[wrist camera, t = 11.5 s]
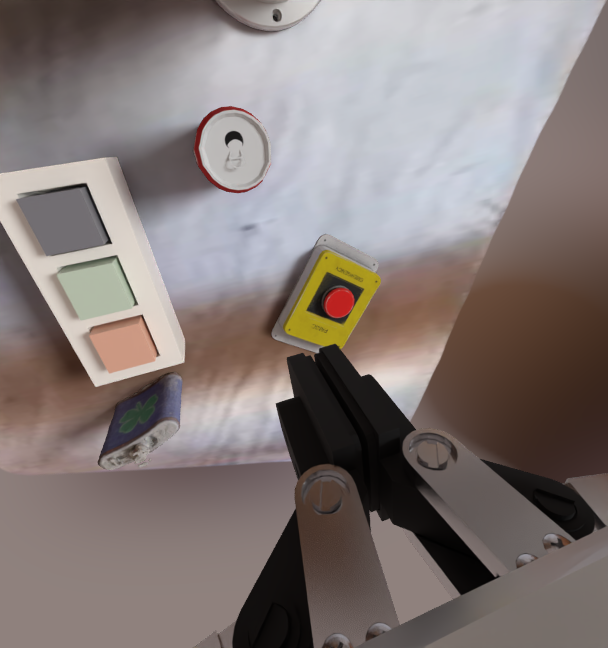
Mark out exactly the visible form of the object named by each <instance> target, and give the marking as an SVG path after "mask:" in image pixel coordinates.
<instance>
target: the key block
mask: <svg viewBox="0 0 608 648" xmlns="http://www.w3.org/2000/svg"><path fill="white" fill-rule="evenodd" d="M87 185H88V187H89V190H90V192H91V195H92V197H93V199H94V202H95V204H96V206H97V209H98V211H99V213H100V216H101V218H102V220H103V223H104V225H105V227H106V230H107V232H108V234H109V237H110V239H109V240H108V241H107V242H106V243H105V244H104V245H100V246H95V247H90V248H85V249H80V250H75V251H70V252H65V253H60V254H55V255H50V256H46V255H45V253H44V251H43V249H42V247H41V245H40V243H39V242H38V240H37V238H36V236H35V234H34V232H33V230H32V228H31V227H30V225H29V223H28V221H27V219H26V217H25V215H24V214H23V212H22V210H21V208H20V206H19V204H18V202H17V200H16V199H19V198H23V197H27V196H30V195H34V194H39V193H45V192H51V191H57V190H63V189H69V188H75V187H81V186H87ZM0 222H1V223H2V225H3V227H4V229H5V230H6V232H7V234H8V236H9V237H10V239H11V241H12V242H13V244H14V246H15V248H16V249H17V251H18V253H19V255H20V256H21V258H22V260H23V262H24V263H25V265H26V267H27V269H28V270H29V272H30V274H31V276H32V277H33V279H34V281H35V282H36V284H37V286H38V288H39V289H40V291H41V293H42V295H43V296H44V298H45V300H46V302H47V303H48V305H49V307H50V309H51V310H52V312H53V314H54V315H55V317H56V319H57V321H58V322H59V324H60V326H61V328H62V329H63V331H64V333H65V335H66V336H67V338H68V340H69V342H70V343H71V345H72V347H73V349H74V350H75V352H76V354H77V355H78V357H79V359H80V361H81V362H82V364H83V366H84V368H85V369H86V371H87V373H88V375H89V376H90V378H91V380H92V382H93V383H94V385H95V387H97V386H101V385H104V384H108V383H111V382H115V381H119V380H122V379H126V378H130V377H133V376H137V375H140V374H144V373H148V372H151V371H155V370H159V369H162V368H166V367H169V366H173V365H177V364H180V363H184V358H185V339H184V336H183V333H182V331H181V328H180V325H179V323H178V320H177V317H176V314H175V312H174V309H173V306H172V304H171V301H170V298H169V296H168V293H167V290H166V288H165V285H164V282H163V280H162V277H161V274H160V271H159V269H158V266H157V263H156V261H155V258H154V255H153V253H152V250H151V247H150V245H149V242H148V239H147V237H146V234H145V231H144V228H143V226H142V223H141V220H140V218H139V215H138V212H137V210H136V207H135V204H134V202H133V199H132V196H131V193H130V191H129V188H128V185H127V183H126V180H125V177H124V175H123V172H122V169H121V167H120V164H119V161H118V159H117V157H106V158H99V159H92V160H86V161H79V162H73V163H66V164H60V165H53V166H47V167H40V168H34V169H27V170H21V171H14V172H8V173H1V174H0ZM114 255H118V258H119V260H120V262H121V265H122V267H123V270H124V272H125V274H126V277H127V279H128V281H129V284H130V286H131V288H132V291H133V293H134V295H135V298H136V300H135V302H134V305H133V308H132V309H128V310H124V311H119V312H115V313H111V314H107V315H103V316H98V317H94V318H90V319H86V320H82V321H81V320H80V318H79V316H78V314H77V313H76V311H75V309H74V307H73V305H72V303H71V301H70V300H69V298H68V296H67V294H66V292H65V290H64V288H63V286H62V285H61V283H60V281H59V279H58V277H57V274H58V273H59V272H60V271H61V270H62V269H63V268H64V267H65V266H67V265H71V264H76V263H81V262H86V261H90V260H95V259H100V258H105V257H110V256H114ZM142 314H143V316H144V319H145V321H146V323H147V326H148V328H149V330H150V333H151V335H152V337H153V340H154V342H155V344H156V347H157V355H156V360H155V361H154V362H150V363H147V364H143V365H139V366H136V367H132V368H128V369H125V370H121V371H117V372H113V373H110V374H109V372H108V370H107V369H106V367H105V365H104V363H103V361H102V359H101V357H100V356H99V354H98V352H97V350H96V348H95V346H94V344H93V342H92V341H91V339H90V337H89V335H90V333H91V331H92V329H93V328H94V326H97V325H101V324H105V323H109V322H113V321H117V320H121V319H125V318H129V317H134V316H138V315H142Z"/></svg>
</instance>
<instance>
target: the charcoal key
mask: <svg viewBox="0 0 608 648" xmlns="http://www.w3.org/2000/svg"><path fill="white" fill-rule="evenodd" d="M16 200H17V202H18V204H19V206H20V208H21V210H22V212H23V214H24V215H25V217H26V219H27V221H28V223H29V225H30V227H31V228H32V230H33V232H34V234H35V236H36V238H37V240H38V242H39V243H40V245H41V247H42V249H43V251H44V253H45V255H46V256H50V255H55V254H60V253H65V252H70V251H75V250H80V249H85V248H90V247H95V246H100V245H104V244H105V243H106V242H107V241H108V240H109V239H110V237H109V234H108V232H107V230H106V227H105V225H104V223H103V220H102V218H101V216H100V213H99V211H98V209H97V206H96V204H95V202H94V199H93V197H92V195H91V192H90V190H89V187H88V185H87V186H81V187H75V188H69V189H63V190H57V191H51V192H45V193H39V194H34V195H30V196H27V197H23V198H19V199H16Z"/></svg>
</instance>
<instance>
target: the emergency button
mask: <svg viewBox="0 0 608 648" xmlns="http://www.w3.org/2000/svg"><path fill="white" fill-rule="evenodd" d="M377 268H378V261H377V260H376V259H375V258H373V257H371V256H369V255H367V254H365V253H363V252H361V251H359V250H358V249H356V248H354V247H352V246H350V245H348V244H346V243H344V242H342V241H340V240H338V239H337V238H335V237H333V236H331V235H328V234H324V235H322V236H321V237H320V238H319V239H318V241H317V243H316V245H315V247H314V249H313V251H312V253H311V255H310V257H309V259H308V261H307V263H306V265H305V267H304V269H303V271H302V273H301V275H300V277H299V279H298V281H297V283H296V285H295V287H294V289H293V290H292V292H291V294H290V296H289V298H288V300H287V302H286V304H285V306H284V308H283V310H282V312H281V314H280V316H279V318H278V320H277V322H276V324H275V326H274V328H273V330H272V337H273V338H274V339H275V340H278V341H281V342H284V343H287V344H290V345H294V346H297V347H300V348H303V349H306V350H309V351H312V352H315V353H319V348H322V347H325V346H329V345H332V344H336V345H337V346H338V347H339V348H340V349H341V348H342V347H343V346H344V344H345V343H346V341H347V339H348V338H349V336H350V334H351V332H352V331H353V329H354V327H355V326H356V324H357V322H358V321H359V319H360V317H361V315H362V314H363V312H364V310H365V309H366V307H367V305H368V304H369V302H370V300H371V298H372V297H373V295H374V293H375V292H376V290H377V288H378V287H379V285H380V282H381V279H380V277H379V276H378V275H377V274H376V273H375V272H376V271H377Z"/></svg>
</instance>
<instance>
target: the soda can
mask: <svg viewBox="0 0 608 648" xmlns="http://www.w3.org/2000/svg"><path fill="white" fill-rule="evenodd" d="M193 151H194V155H195V159H196V162H197V165H198V167H199V168H200V169H201V171H202V172H203V173H204V175H205V176H206V178H207V179H208V180H209V181H210V182H211V183H212V184H214V185H215V186H216V187H218V188H219V189H222V190H224V191H226V192H232V193H242V192H247V191H249V190H251V189H253V188H255V187H257V186H258V185H259V184H260V183H261V182H262V181H263V179H264V177H265V175H266V173H267V171H268V169H269V167H270V165H271V144H270V140H269V137H268V135H267V132H266V130H265V128H264V127H263V125H262V124H261V122H260V121H259V120H258V119H256V118H255V117H254V116H253V115H252V114H251V113H249V112H247V111H246V110H244V109H241V108H236V107H232V106H228V107H221V108H218V109H216V110H214V111H212V112H210V113H209V114H208V115H207V116H206V117H204V118H203V120H202V122H201V124H200V125H199V127H198V129H197V132H196V137H195V143H194V149H193Z"/></svg>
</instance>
